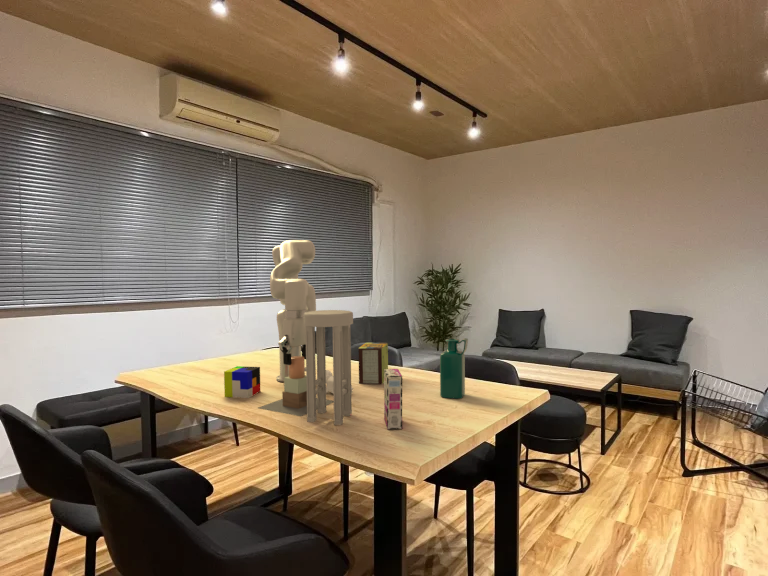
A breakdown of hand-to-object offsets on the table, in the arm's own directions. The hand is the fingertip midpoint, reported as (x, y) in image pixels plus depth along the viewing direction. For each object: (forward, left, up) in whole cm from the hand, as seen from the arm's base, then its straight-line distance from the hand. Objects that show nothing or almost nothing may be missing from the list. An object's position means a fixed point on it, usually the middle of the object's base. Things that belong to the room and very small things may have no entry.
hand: (296, 361), depth 166 cm
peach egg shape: (+1, 0, -5) cm, 5 cm away
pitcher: (-38, +45, -16) cm, 61 cm away
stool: (+6, +19, -16) cm, 26 cm away
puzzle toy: (-2, -30, -16) cm, 34 cm away
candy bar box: (+1, +40, -16) cm, 43 cm away
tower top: (0, 0, -10) cm, 10 cm away
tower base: (0, 0, -15) cm, 15 cm away
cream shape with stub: (-19, +2, -16) cm, 25 cm away
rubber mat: (0, 0, -16) cm, 16 cm away
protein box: (-46, +4, -16) cm, 49 cm away
